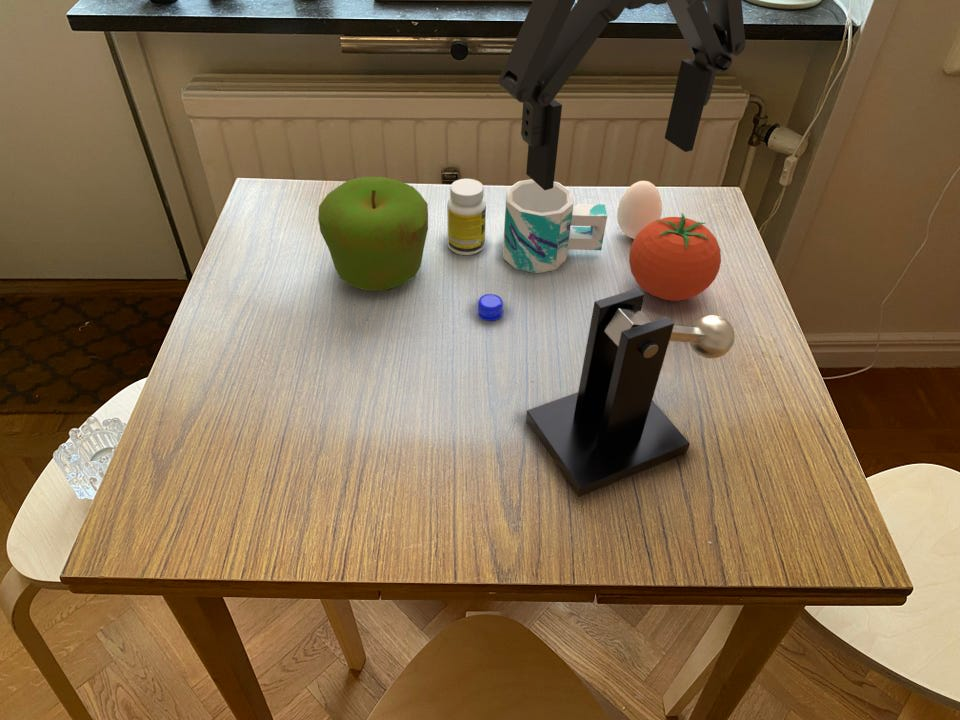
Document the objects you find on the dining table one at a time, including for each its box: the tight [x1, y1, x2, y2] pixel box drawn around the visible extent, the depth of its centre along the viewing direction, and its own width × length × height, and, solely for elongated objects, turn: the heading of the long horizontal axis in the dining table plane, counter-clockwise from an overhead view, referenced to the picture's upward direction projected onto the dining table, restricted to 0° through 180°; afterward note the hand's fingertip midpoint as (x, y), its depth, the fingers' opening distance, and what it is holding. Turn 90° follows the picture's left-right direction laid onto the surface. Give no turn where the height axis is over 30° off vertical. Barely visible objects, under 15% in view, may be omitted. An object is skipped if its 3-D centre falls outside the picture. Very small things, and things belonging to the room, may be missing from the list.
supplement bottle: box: [446, 178, 487, 256], centre depth 87 cm, size 5×5×8 cm
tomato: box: [628, 212, 722, 302], centre depth 81 cm, size 10×10×10 cm
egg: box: [616, 180, 663, 240], centre depth 90 cm, size 6×6×8 cm
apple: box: [317, 176, 429, 291], centre depth 82 cm, size 12×12×11 cm
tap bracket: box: [525, 287, 691, 498], centre depth 63 cm, size 12×10×16 cm
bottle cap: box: [476, 293, 504, 322], centre depth 80 cm, size 3×3×2 cm
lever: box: [604, 308, 735, 360], centre depth 62 cm, size 14×4×4 cm, turn 116°
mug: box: [502, 178, 608, 274], centre depth 86 cm, size 8×12×8 cm
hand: (611, 162), depth 56 cm, fingers open, 13 cm apart
